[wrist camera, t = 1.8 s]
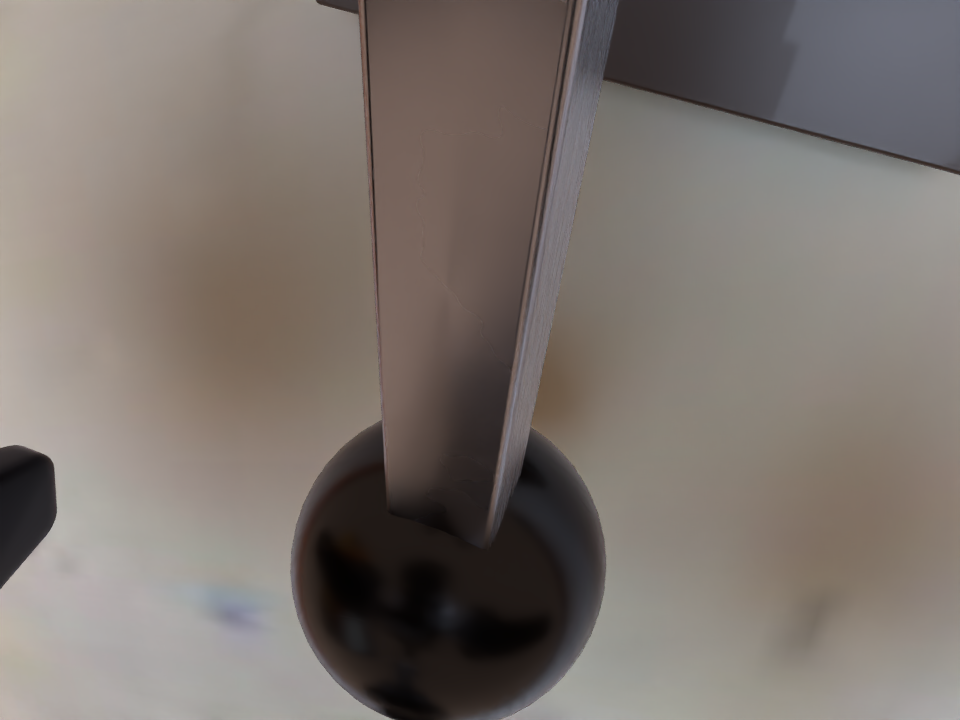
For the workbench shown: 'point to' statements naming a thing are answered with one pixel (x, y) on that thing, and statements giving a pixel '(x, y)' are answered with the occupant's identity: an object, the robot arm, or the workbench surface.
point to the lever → (462, 370)
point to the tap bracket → (802, 66)
